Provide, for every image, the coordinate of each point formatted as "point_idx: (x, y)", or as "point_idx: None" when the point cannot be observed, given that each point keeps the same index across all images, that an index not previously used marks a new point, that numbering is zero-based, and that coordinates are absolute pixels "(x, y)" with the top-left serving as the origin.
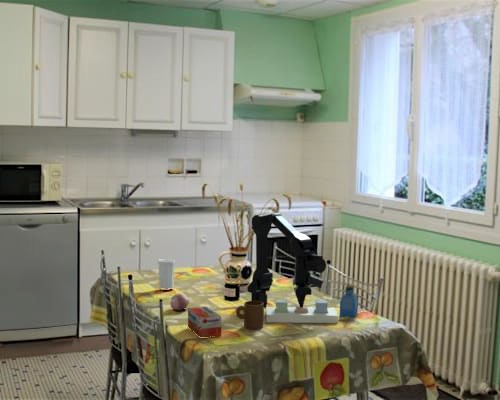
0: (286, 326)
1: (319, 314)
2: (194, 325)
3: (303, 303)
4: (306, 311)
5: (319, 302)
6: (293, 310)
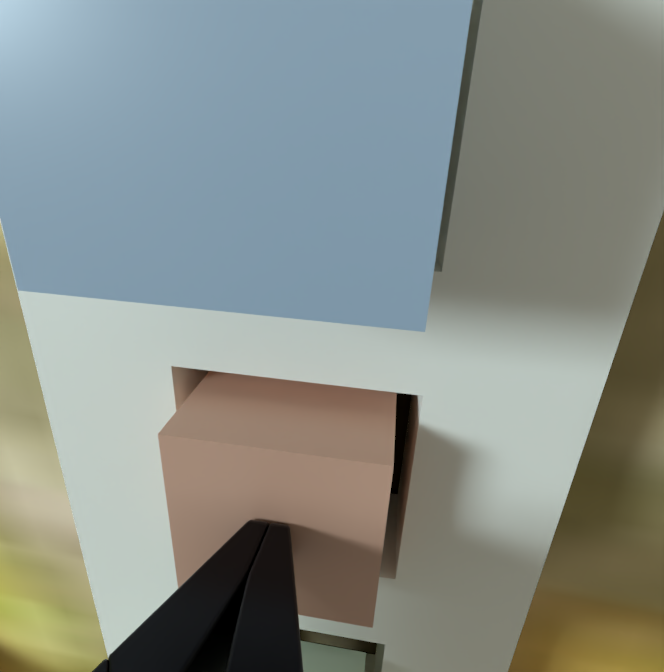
0: (654, 622)
1: (579, 191)
2: None
3: (294, 596)
4: (394, 439)
5: (347, 192)
6: None
